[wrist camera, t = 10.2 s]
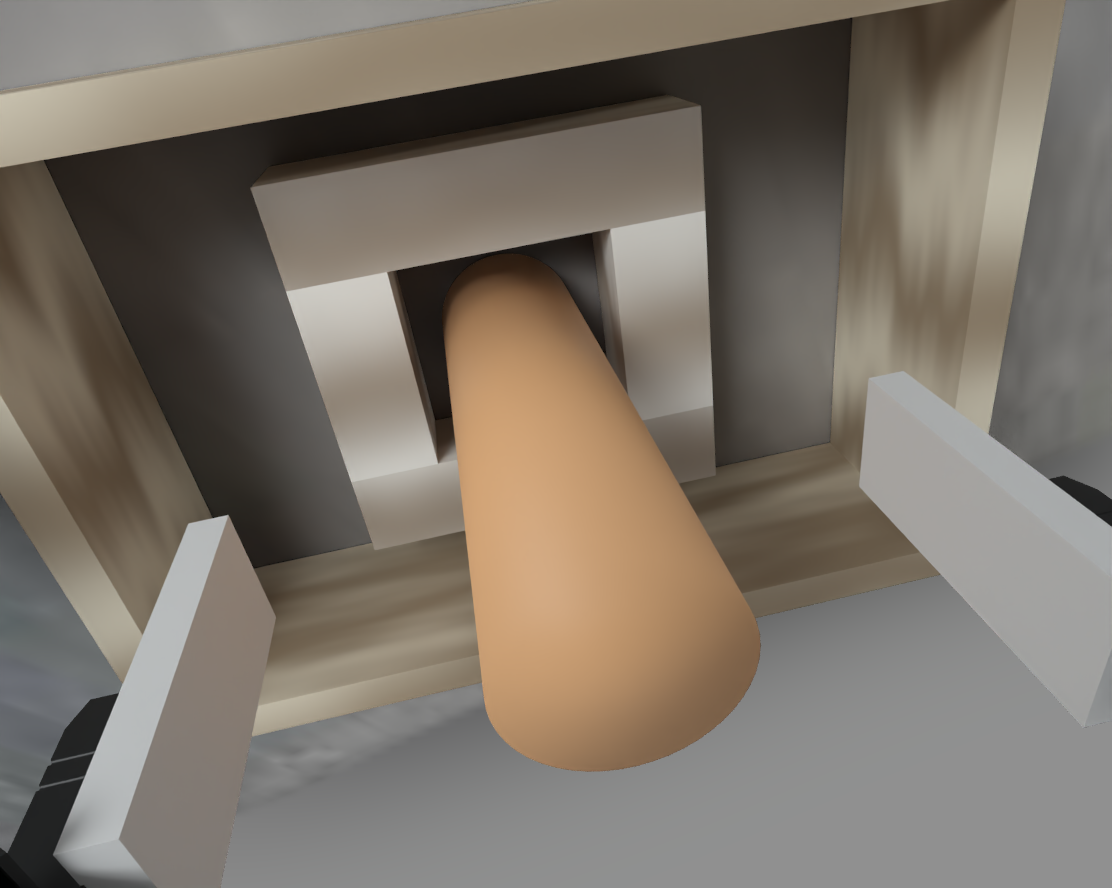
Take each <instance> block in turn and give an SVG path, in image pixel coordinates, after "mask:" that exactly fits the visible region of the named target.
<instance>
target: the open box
mask: <svg viewBox="0 0 1112 888" xmlns="http://www.w3.org/2000/svg"><path fill="white" fill-rule="evenodd" d="M1065 2H1066V0H534V1H528V2H522V3H516V4H510V5H504V6H498V7H493V8H487V9H481V10H475V11H469V12H463V13H457V14H451V15H445V16H439V17H433V18H427V19H422V20H416V21H410V22H404V23H398V24H392V25H386V26H380V27H374V28H368V29H362V30H356V31H351V32H345V33H339V34H333V35H327V36H321V37H315V38H309V39H303V40H297V41H291V42H285V43H280V44H274V45H268V46H262V47H256V48H250V49H244V50H238V51H232V52H226V53H220V54H214V55H209V56H203V57H197V58H191V59H185V60H179V61H173V62H167V63H161V64H155V65H149V66H143V67H137V68H132V69H126V70H120V71H114V72H108V73H102V74H96V75H90V76H84V77H78V78H72V79H66V80H61V81H55V82H49V83H43V84H37V85H31V86H25V87H19V88H13V89H7V90H1V91H0V493H1V495H2V496H3V498H4V499H5V501H6V503H7V504H8V506H9V507H10V509H11V510H12V512H13V513H14V515H15V517H16V518H17V520H18V521H19V523H20V524H21V526H22V528H23V529H24V531H25V532H26V534H27V535H28V537H29V538H30V540H31V542H32V543H33V545H34V546H35V548H36V549H37V551H38V552H39V554H40V556H41V557H42V559H43V560H44V562H45V563H46V565H47V567H48V568H49V570H50V571H51V573H52V574H53V576H54V577H55V579H56V581H57V582H58V584H59V585H60V587H61V588H62V590H63V592H64V593H65V595H66V596H67V598H68V599H69V601H70V602H71V604H72V606H73V607H74V609H75V610H76V612H77V613H78V615H79V617H80V618H81V620H82V621H83V623H84V624H85V626H86V627H87V629H88V631H89V632H90V634H91V635H92V637H93V638H94V640H95V641H96V643H97V645H98V646H99V648H100V649H101V651H102V652H103V654H104V656H105V657H106V659H107V660H108V662H109V663H110V665H111V666H112V668H113V670H114V671H115V673H116V674H117V676H118V677H119V679H120V681H121V682H122V684H123V683H124V680H125V678H126V675H127V673H128V670H129V668H130V665H131V663H132V661H133V658H134V656H135V653H136V651H137V648H138V646H139V643H140V641H141V638H142V636H143V634H144V631H145V629H146V626H147V624H148V621H149V619H150V616H151V614H152V612H153V609H154V607H155V604H156V602H157V599H158V597H159V594H160V592H161V590H162V587H163V585H164V582H165V580H166V577H167V575H168V572H169V570H170V568H171V565H172V563H173V560H174V558H175V555H176V553H177V550H178V548H179V546H180V543H181V541H182V538H183V536H184V533H185V531H186V528H187V526H188V524H189V523H193V522H198V521H203V520H207V519H212V516H211V514H210V512H209V509H208V507H207V505H206V503H205V501H204V499H203V497H202V495H201V493H200V490H199V488H198V486H197V484H196V482H195V480H194V478H193V476H192V473H191V471H190V469H189V467H188V465H187V463H186V461H185V459H184V457H183V454H182V452H181V450H180V448H179V446H178V444H177V442H176V440H175V438H174V435H173V433H172V431H171V429H170V427H169V425H168V423H167V421H166V418H165V416H164V414H163V412H162V410H161V408H160V406H159V404H158V402H157V399H156V397H155V395H154V393H153V391H152V389H151V387H150V385H149V382H148V380H147V378H146V376H145V374H144V372H143V370H142V368H141V366H140V363H139V361H138V359H137V357H136V355H135V353H134V351H133V349H132V347H131V344H130V342H129V340H128V338H127V336H126V334H125V332H124V330H123V327H122V325H121V323H120V321H119V319H118V317H117V315H116V313H115V311H114V308H113V306H112V304H111V302H110V300H109V298H108V296H107V294H106V292H105V289H104V287H103V285H102V283H101V281H100V279H99V277H98V275H97V272H96V270H95V268H94V266H93V264H92V262H91V260H90V258H89V256H88V253H87V251H86V249H85V247H84V245H83V243H82V241H81V239H80V236H79V234H78V232H77V230H76V228H75V226H74V224H73V222H72V220H71V217H70V215H69V213H68V211H67V209H66V207H65V205H64V203H63V201H62V198H61V196H60V194H59V192H58V190H57V188H56V186H55V184H54V181H53V179H52V177H51V175H50V173H49V171H48V169H47V167H46V165H45V162H44V160H46V159H51V158H57V157H63V156H68V155H74V154H80V153H85V152H91V151H97V150H103V149H108V148H114V147H120V146H125V145H131V144H137V143H142V142H148V141H154V140H159V139H165V138H171V137H176V136H182V135H188V134H193V133H199V132H205V131H210V130H216V129H222V128H227V127H233V126H239V125H244V124H250V123H256V122H261V121H267V120H273V119H278V118H284V117H290V116H296V115H301V114H307V113H313V112H318V111H324V110H330V109H335V108H341V107H347V106H352V105H358V104H364V103H369V102H375V101H381V100H386V99H392V98H398V97H403V96H409V95H415V94H420V93H426V92H432V91H437V90H443V89H449V88H454V87H460V86H466V85H471V84H477V83H483V82H488V81H494V80H500V79H506V78H511V77H517V76H523V75H528V74H534V73H540V72H545V71H551V70H557V69H562V68H568V67H574V66H579V65H585V64H591V63H596V62H602V61H608V60H613V59H619V58H625V57H630V56H636V55H642V54H647V53H653V52H659V51H664V50H670V49H676V48H681V47H687V46H693V45H699V44H704V43H710V42H716V41H721V40H727V39H733V38H738V37H744V36H750V35H755V34H761V33H767V32H772V31H778V30H784V29H789V28H795V27H801V26H806V25H812V24H818V23H823V22H829V21H835V20H840V19H846V18H852V36H851V55H850V74H849V93H848V112H847V131H846V150H845V169H844V188H843V207H842V226H841V245H840V264H839V283H838V302H837V321H836V340H835V359H834V378H833V397H832V416H831V435H830V443H826V444H821V445H816V446H812V447H807V448H803V449H798V450H794V451H789V452H784V453H780V454H775V455H771V456H766V457H762V458H757V459H752V460H748V461H743V462H739V463H734V464H730V465H725V466H720V467H716V465H715V440H714V415H713V390H712V365H711V340H710V315H709V291H708V266H707V241H706V216H705V191H704V166H703V141H702V116H701V105H698V104H695V103H692V102H689V101H686V100H683V99H680V98H677V97H673V96H670V95H664V96H658V97H653V98H647V99H642V100H636V101H631V102H625V103H619V104H614V105H608V106H603V107H597V108H592V109H586V110H581V111H575V112H570V113H564V114H559V115H553V116H548V117H542V118H536V119H531V120H525V121H520V122H514V123H509V124H503V125H498V126H492V127H487V128H481V129H476V130H470V131H465V132H459V133H453V134H448V135H442V136H437V137H431V138H426V139H420V140H415V141H409V142H404V143H398V144H393V145H387V146H381V147H376V148H370V149H365V150H359V151H354V152H348V153H343V154H337V155H332V156H326V157H321V158H315V159H310V160H304V161H298V162H293V163H287V164H282V165H276V166H271V167H268V168H267V169H266V170H265V172H264V173H263V174H262V175H261V176H260V177H259V178H258V179H257V181H256V182H255V183H254V184H253V185H252V186H251V187H250V188H251V191H252V194H253V197H254V200H255V203H256V206H257V209H258V212H259V215H260V217H261V220H262V223H263V226H264V229H265V232H266V235H267V238H268V241H269V244H270V247H271V249H272V252H273V255H274V258H275V261H276V264H277V267H278V270H279V273H280V276H281V279H282V282H283V284H284V287H285V290H286V293H287V296H288V299H289V302H290V305H291V308H292V311H293V314H294V317H295V319H296V322H297V325H298V328H299V331H300V334H301V337H302V340H303V343H304V346H305V349H306V351H307V354H308V357H309V360H310V363H311V366H312V369H313V372H314V375H315V378H316V381H317V384H318V386H319V389H320V392H321V395H322V398H323V401H324V404H325V407H326V410H327V413H328V416H329V418H330V421H331V424H332V427H333V430H334V433H335V436H336V439H337V442H338V445H339V448H340V451H341V453H342V456H343V459H344V462H345V465H346V468H347V471H348V474H349V477H350V480H351V483H352V486H353V488H354V491H355V494H356V497H357V500H358V503H359V506H360V509H361V512H362V515H363V518H364V520H365V523H366V526H367V529H368V532H369V535H370V538H371V541H372V543H369V544H364V545H360V546H355V547H350V548H346V549H341V550H337V551H332V552H328V553H323V554H319V555H314V556H309V557H305V558H300V559H296V560H291V561H287V562H282V563H277V564H273V565H268V566H264V567H259V568H255V569H254V571H255V573H256V575H257V577H258V579H259V582H260V584H261V586H262V588H263V590H264V592H265V594H266V597H267V599H268V601H269V603H270V605H271V607H272V609H273V612H274V614H275V616H276V620H275V625H274V630H273V635H272V640H271V644H270V649H269V654H268V659H267V664H266V669H265V673H264V678H263V683H262V688H261V693H260V698H259V703H258V707H257V712H256V717H255V722H254V727H253V732H252V736H256V735H260V734H264V733H269V732H273V731H277V730H282V729H286V728H290V727H294V726H299V725H303V724H307V723H311V722H316V721H320V720H324V719H328V718H333V717H337V716H341V715H345V714H350V713H354V712H358V711H362V710H367V709H371V708H375V707H379V706H384V705H388V704H392V703H396V702H401V701H405V700H409V699H413V698H418V697H422V696H426V695H430V694H435V693H439V692H443V691H447V690H452V689H456V688H460V687H465V686H469V685H473V684H477V683H482V676H481V667H480V659H479V650H478V641H477V632H476V623H475V614H474V605H473V596H472V587H471V578H470V569H469V560H468V551H467V542H466V533H465V524H464V515H463V506H462V497H461V488H460V479H459V470H458V461H457V452H456V443H455V434H454V425H453V417H450V418H445V419H440V420H435V418H434V414H433V410H432V406H431V402H430V399H429V395H428V391H427V387H426V383H425V379H424V376H423V372H422V368H421V364H420V360H419V356H418V353H417V349H416V345H415V341H414V337H413V333H412V329H411V326H410V322H409V318H408V314H407V310H406V306H405V303H404V299H403V295H402V291H401V287H400V283H399V280H398V276H397V272H396V270H400V269H405V268H410V267H416V266H421V265H426V264H431V263H436V262H442V261H447V260H452V259H457V258H462V257H467V256H473V255H478V254H483V253H488V252H493V251H499V250H504V249H509V248H514V247H519V246H524V245H530V244H535V243H540V242H545V241H550V240H556V239H561V238H566V237H571V236H576V235H581V234H587V233H592V237H593V245H594V254H595V262H596V271H597V279H598V287H599V296H600V304H601V313H602V321H603V330H604V338H605V346H606V355H607V360H608V361H609V363H610V365H611V367H612V368H613V370H614V372H615V374H616V375H617V377H618V379H619V381H620V382H621V384H622V386H623V388H624V389H625V391H626V393H627V394H628V396H629V398H630V400H631V401H632V403H633V405H634V407H635V408H636V410H637V412H638V414H639V415H640V417H641V419H642V421H643V422H644V424H645V426H646V428H647V429H648V431H649V433H650V435H651V436H652V438H653V440H654V442H655V443H656V445H657V447H658V449H659V450H660V452H661V454H662V456H663V457H664V459H665V461H666V462H667V464H668V466H669V468H670V469H671V471H672V473H673V475H674V476H675V478H676V480H677V482H678V483H679V485H680V487H681V489H682V490H683V492H684V494H685V496H686V497H687V499H688V501H689V503H690V504H691V506H692V508H693V510H694V511H695V513H696V515H697V517H698V518H699V520H700V522H701V523H702V525H703V527H704V529H705V530H706V532H707V534H708V536H709V537H710V539H711V541H712V543H713V544H714V546H715V548H716V550H717V551H718V553H719V555H720V557H721V558H722V560H723V562H724V564H725V565H726V567H727V569H728V571H729V572H730V574H731V576H732V578H733V579H734V581H735V583H736V584H737V586H738V588H739V590H740V591H741V593H742V595H743V597H744V598H745V600H746V602H747V604H748V605H749V607H750V609H751V611H752V613H753V615H754V617H755V618H758V617H762V616H767V615H770V614H775V613H779V612H783V611H788V610H792V609H796V608H801V607H805V606H809V605H813V604H818V603H822V602H826V601H830V600H835V599H839V598H843V597H847V596H852V595H856V594H860V593H865V592H869V591H873V590H877V589H882V588H886V587H890V586H894V585H899V584H903V583H907V582H911V581H916V580H920V579H924V578H928V577H932V576H937V575H941V574H940V573H939V572H938V571H937V570H936V569H935V568H934V567H933V565H932V564H931V563H930V562H929V561H928V560H927V559H926V558H925V557H924V556H923V555H922V554H921V553H920V551H919V550H918V549H917V548H916V547H915V546H914V545H913V544H912V543H911V542H910V541H909V540H908V539H907V537H906V536H905V535H904V534H903V533H902V532H901V531H900V530H899V529H898V528H897V527H896V526H895V525H894V523H893V522H892V521H891V520H890V519H889V518H888V517H887V516H886V515H885V514H884V513H883V512H882V511H881V509H880V508H879V507H878V506H877V505H876V504H875V503H874V502H873V501H872V500H871V499H870V498H869V497H868V496H867V494H866V493H865V492H864V491H863V490H862V489H861V488H860V487H859V481H860V470H861V459H862V447H863V436H864V425H865V413H866V402H867V391H868V379H869V378H872V377H877V376H882V375H886V374H891V373H896V372H900V371H904V372H906V373H907V374H908V375H910V376H911V377H912V378H914V379H915V380H916V381H918V382H919V383H920V384H922V385H923V386H924V387H926V388H927V389H928V390H930V391H931V392H932V393H934V394H935V395H936V396H938V397H939V398H940V399H942V400H943V401H944V402H946V403H947V404H948V405H950V406H951V407H952V408H954V409H955V410H956V411H958V412H959V413H960V414H962V415H963V416H964V417H966V418H967V419H968V420H970V421H971V422H972V423H974V424H975V425H976V426H978V427H979V428H980V429H982V430H983V431H984V432H986V433H987V434H988V433H989V427H990V421H991V416H992V410H993V405H994V399H995V394H996V388H997V382H998V377H999V371H1000V366H1001V360H1002V354H1003V349H1004V343H1005V338H1006V332H1007V326H1008V321H1009V315H1010V310H1011V304H1012V298H1013V293H1014V287H1015V282H1016V276H1017V270H1018V265H1019V259H1020V254H1021V248H1022V242H1023V237H1024V231H1025V226H1026V220H1027V214H1028V209H1029V203H1030V198H1031V192H1032V186H1033V181H1034V175H1035V170H1036V164H1037V158H1038V153H1039V147H1040V142H1041V136H1042V130H1043V125H1044V119H1045V114H1046V108H1047V102H1048V97H1049V91H1050V86H1051V80H1052V74H1053V69H1054V63H1055V58H1056V52H1057V46H1058V41H1059V35H1060V30H1061V24H1062V18H1063V13H1064V7H1065Z"/></svg>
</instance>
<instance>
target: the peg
mask: <svg viewBox="0 0 1112 888" xmlns="http://www.w3.org/2000/svg"><path fill="white" fill-rule="evenodd" d="M442 326H443V335H444V344H445V353H446V362H447V371H448V380H449V389H450V398H451V407H452V416H453V425H454V434H455V443H456V452H457V461H458V470H459V479H460V488H461V497H462V506H463V515H464V524H465V533H466V542H467V551H468V560H469V569H470V578H471V587H472V596H473V605H474V614H475V623H476V632H477V641H478V650H479V659H480V667H481V676H482V685H483V694H484V701H485V707H486V711H487V713H488V716H489V719H490V721H491V723H492V725H493V726H494V728H495V730H496V731H497V733H498V734H499V735H500V736H501V737H502V738H503V739H504V741H505V742H506V743H508V744H509V745H510V746H511V747H512V748H514V749H515V750H516V751H518V752H519V753H521V754H523V755H525V756H526V757H528V758H530V759H532V760H535V761H537V762H539V763H542V764H545V765H549V766H552V767H556V768H561V769H566V770H574V771H587V772H588V771H610V770H619V769H624V768H629V767H634V766H639V765H642V764H645V763H649V762H652V761H655V760H658V759H660V758H663V757H666V756H669V755H671V754H673V753H675V752H677V751H679V750H681V749H683V748H685V747H687V746H688V745H690V744H692V743H693V742H695V741H697V740H699V739H700V738H701V737H703V736H704V735H706V734H707V733H708V732H710V731H711V730H712V729H714V728H715V727H716V726H717V725H718V724H719V723H721V722H722V721H723V720H724V719H725V718H726V717H727V716H728V715H729V714H730V713H731V712H732V711H733V710H734V708H735V707H736V706H737V704H738V703H739V702H740V700H741V699H742V698H743V697H744V695H745V693H746V691H747V690H748V688H749V686H750V685H751V682H752V680H753V678H754V675H755V673H756V669H757V666H758V662H759V657H760V647H761V644H760V633H759V629H758V625H757V622H756V619H755V617H754V615H753V613H752V611H751V609H750V607H749V605H748V604H747V602H746V600H745V598H744V597H743V595H742V593H741V591H740V590H739V588H738V586H737V584H736V583H735V581H734V579H733V578H732V576H731V574H730V572H729V571H728V569H727V567H726V565H725V564H724V562H723V560H722V558H721V557H720V555H719V553H718V551H717V550H716V548H715V546H714V544H713V543H712V541H711V539H710V537H709V536H708V534H707V532H706V530H705V529H704V527H703V525H702V523H701V522H700V520H699V518H698V517H697V515H696V513H695V511H694V510H693V508H692V506H691V504H690V503H689V501H688V499H687V497H686V496H685V494H684V492H683V490H682V489H681V487H680V485H679V483H678V482H677V480H676V478H675V476H674V475H673V473H672V471H671V469H670V468H669V466H668V464H667V462H666V461H665V459H664V457H663V456H662V454H661V452H660V450H659V449H658V447H657V445H656V443H655V442H654V440H653V438H652V436H651V435H650V433H649V431H648V429H647V428H646V426H645V424H644V422H643V421H642V419H641V417H640V415H639V414H638V412H637V410H636V408H635V407H634V405H633V403H632V401H631V400H630V398H629V396H628V394H627V393H626V391H625V389H624V388H623V386H622V384H621V382H620V381H619V379H618V377H617V375H616V374H615V372H614V370H613V368H612V367H611V365H610V363H609V361H608V360H607V358H606V356H605V354H604V353H603V351H602V349H601V347H600V346H599V344H598V342H597V340H596V339H595V337H594V335H593V333H592V332H591V330H590V328H589V327H588V325H587V323H586V321H585V320H584V318H583V316H582V314H581V313H580V311H579V309H578V307H577V306H576V304H575V302H574V300H573V299H572V297H571V295H570V293H569V292H568V290H567V288H566V286H565V285H564V283H563V282H562V280H561V279H560V277H559V276H558V275H557V274H556V273H555V272H554V271H553V270H552V269H551V268H550V267H548V266H547V265H546V264H544V263H542V262H541V261H539V260H537V259H534V258H532V257H529V256H526V255H521V254H512V253H505V254H496V255H492V256H488V257H486V258H483V259H481V260H479V261H477V262H475V263H473V264H471V265H470V266H469V267H467V268H466V269H465V270H464V271H463V272H462V273H461V274H460V275H459V276H458V277H457V278H456V279H455V281H454V282H453V283H452V285H451V287H450V288H449V290H448V292H447V295H446V297H445V301H444V304H443V310H442Z"/></svg>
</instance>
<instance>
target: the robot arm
mask: <svg viewBox="0 0 1112 888" xmlns="http://www.w3.org/2000/svg"><path fill="white" fill-rule="evenodd" d="M859 487H860V488H861V489H862V490H863V491H864V492H865V493H866V494H867V496H868V497H869V498H870V499H871V500H872V501H873V502H874V503H875V504H876V505H877V506H878V507H879V508H880V509H881V511H882V512H883V513H884V514H885V515H886V516H887V517H888V518H889V519H890V520H891V521H892V522H893V523H894V525H895V526H896V527H897V528H898V529H899V530H900V531H901V532H902V533H903V534H904V535H905V536H906V537H907V539H908V540H909V541H910V542H911V543H912V544H913V545H914V546H915V547H916V548H917V549H918V550H919V551H920V553H921V554H922V555H923V556H924V557H925V558H926V559H927V560H928V561H929V562H930V563H931V564H932V565H933V567H934V568H935V569H936V570H937V571H938V572H939V573H940V574H941V575H942V576H943V577H944V578H945V579H946V581H948V583H949V584H950V585H951V586H952V587H953V588H954V589H955V590H956V591H957V592H958V593H959V595H961V596H962V598H963V599H964V600H965V601H966V602H967V603H968V604H969V605H970V606H971V607H972V609H973V610H974V611H975V612H976V613H977V614H978V615H979V616H980V617H981V618H982V619H983V620H984V621H985V623H986V624H987V625H988V626H989V627H990V628H991V629H992V630H993V631H994V632H995V633H996V634H997V635H998V637H999V638H1000V639H1001V640H1003V642H1004V643H1005V644H1006V645H1007V646H1008V647H1009V648H1010V649H1011V650H1012V652H1013V653H1014V654H1015V655H1016V656H1017V657H1018V658H1019V659H1020V660H1021V661H1022V662H1023V663H1024V665H1025V666H1026V667H1027V668H1028V669H1029V670H1030V671H1031V672H1032V673H1033V674H1034V675H1035V676H1036V677H1037V678H1038V680H1039V681H1040V682H1041V683H1042V684H1043V685H1044V686H1045V687H1046V688H1047V689H1048V690H1049V691H1050V693H1051V694H1052V695H1053V696H1054V697H1055V698H1056V699H1057V700H1058V701H1059V702H1060V703H1061V704H1062V705H1063V707H1065V709H1066V710H1067V711H1068V712H1069V713H1070V714H1071V715H1072V716H1073V717H1074V718H1075V719H1076V720H1077V722H1078V723H1079V724H1080V725H1081V726H1082V727H1083V728H1086V727H1089V726H1093V725H1097V724H1101V723H1105V722H1109V721H1112V499H1110V498H1109V497H1107V496H1106V495H1104V494H1103V493H1102V492H1100V491H1099V490H1097V489H1095V488H1093V487H1090V486H1088V485H1085V484H1083V483H1080V482H1078V481H1075V480H1073V479H1070V478H1068V477H1066V476H1060V477H1056V478H1052V479H1047V478H1046V477H1045V476H1043V475H1042V474H1040V473H1039V472H1038V471H1036V470H1035V469H1034V468H1032V467H1031V466H1030V465H1028V464H1027V463H1026V462H1024V461H1023V460H1022V459H1020V458H1019V457H1018V456H1016V455H1015V454H1014V453H1012V452H1011V451H1010V450H1008V449H1007V448H1006V447H1004V446H1003V445H1002V444H1000V443H999V442H998V441H996V440H995V439H994V438H992V437H991V436H990V435H988V434H987V433H986V432H984V431H983V430H982V429H980V428H979V427H978V426H976V425H975V424H974V423H972V422H971V421H970V420H968V419H967V418H966V417H964V416H963V415H962V414H960V413H959V412H958V411H956V410H955V409H954V408H952V407H951V406H950V405H948V404H947V403H946V402H944V401H943V400H942V399H940V398H939V397H938V396H936V395H935V394H934V393H932V392H931V391H930V390H928V389H927V388H926V387H924V386H923V385H922V384H920V383H919V382H918V381H916V380H915V379H914V378H912V377H911V376H910V375H908V374H907V373H906V372H904V371H900V372H896V373H891V374H886V375H882V376H877V377H872V378H869V379H868V391H867V402H866V413H865V425H864V436H863V447H862V459H861V470H860V481H859ZM275 620H276V616H275V614H274V612H273V609H272V607H271V605H270V603H269V601H268V599H267V597H266V594H265V592H264V590H263V588H262V586H261V584H260V582H259V579H258V577H257V575H256V573H255V571H254V569H253V567H252V564H251V562H250V560H249V558H248V556H247V554H246V552H245V549H244V547H243V545H242V543H241V541H240V539H239V536H238V534H237V532H236V530H235V528H234V526H233V524H232V521H231V519H230V517H229V515H226V516H221V517H217V518H212V519H207V520H203V521H198V522H193V523H189V524H188V526H187V528H186V531H185V533H184V536H183V538H182V541H181V543H180V546H179V548H178V550H177V553H176V555H175V558H174V560H173V563H172V565H171V568H170V570H169V572H168V575H167V577H166V580H165V582H164V585H163V587H162V590H161V592H160V594H159V597H158V599H157V602H156V604H155V607H154V609H153V612H152V614H151V616H150V619H149V621H148V624H147V626H146V629H145V631H144V634H143V636H142V638H141V641H140V643H139V646H138V648H137V651H136V653H135V656H134V658H133V661H132V663H131V665H130V668H129V670H128V673H127V675H126V678H125V680H124V683H123V685H122V687H121V690H120V692H119V693H118V694H113V695H109V696H104V697H100V698H96V699H91V700H90V701H89V702H88V703H87V704H86V705H85V707H84V708H83V709H82V710H81V711H80V712H79V714H78V715H77V716H76V717H75V718H74V719H73V721H72V722H71V723H70V724H69V725H68V726H67V728H66V729H65V730H64V732H63V735H62V737H61V739H60V741H59V743H58V745H57V748H56V750H55V752H54V754H53V756H52V758H51V762H52V764H51V765H50V766H48V767H47V769H46V771H45V774H44V776H43V778H42V780H41V782H40V784H39V786H40V790H39V791H36V793H35V795H34V797H33V799H32V802H31V804H30V806H29V808H28V810H27V812H26V815H25V817H24V819H23V821H22V823H21V825H20V828H19V830H18V832H17V834H16V836H15V838H14V841H13V843H12V845H11V847H10V849H9V851H8V853H6V852H5V851H4V850H2V849H1V848H0V888H220V887H221V882H222V877H223V872H224V868H225V863H226V858H227V853H228V848H229V843H230V838H231V834H232V828H233V824H234V819H235V814H236V809H237V805H238V800H239V795H240V790H241V785H242V780H243V775H244V771H245V766H246V761H247V756H248V751H249V746H250V741H251V737H252V732H253V727H254V722H255V717H256V712H257V707H258V703H259V698H260V693H261V688H262V683H263V678H264V673H265V669H266V664H267V659H268V654H269V649H270V644H271V640H272V635H273V630H274V625H275Z"/></svg>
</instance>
